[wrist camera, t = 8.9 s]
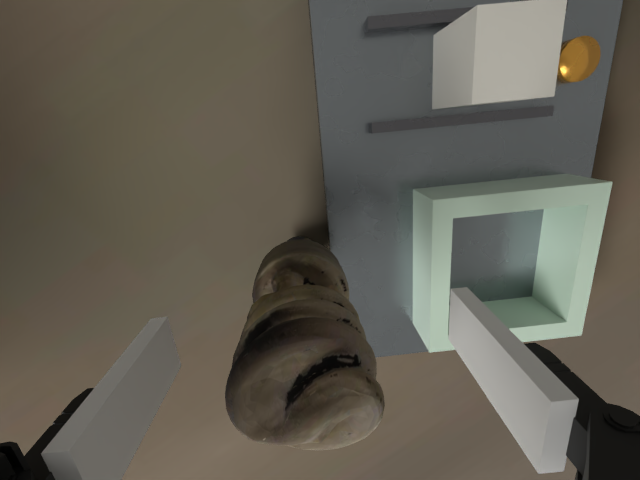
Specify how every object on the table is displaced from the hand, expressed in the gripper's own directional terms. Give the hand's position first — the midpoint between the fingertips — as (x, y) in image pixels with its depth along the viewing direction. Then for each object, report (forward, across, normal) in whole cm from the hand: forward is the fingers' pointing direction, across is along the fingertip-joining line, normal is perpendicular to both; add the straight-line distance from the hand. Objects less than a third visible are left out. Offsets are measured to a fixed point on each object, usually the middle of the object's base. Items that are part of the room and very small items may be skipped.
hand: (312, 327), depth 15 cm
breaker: (+8, +10, +11) cm, 17 cm away
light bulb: (+10, 0, 0) cm, 10 cm away
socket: (+8, +12, -1) cm, 15 cm away
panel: (+10, +10, +7) cm, 16 cm away
